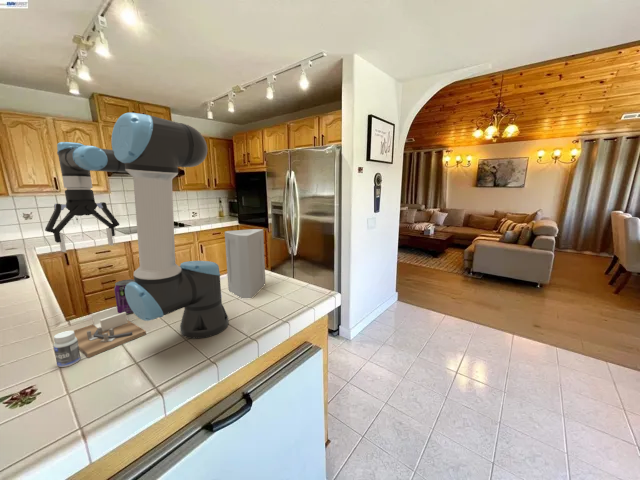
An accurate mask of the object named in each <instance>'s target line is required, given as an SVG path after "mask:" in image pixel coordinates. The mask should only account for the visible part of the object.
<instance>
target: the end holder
mask: <svg viewBox="0 0 640 480" xmlns="http://www.w3.org/2000/svg"><path fill="white" fill-rule="evenodd" d="M127 315H128V314H126V312H123V313H118V311H117V306H113V307H110V308H106V309H104V310H100V311H97V312H93V313H91V320H92V324H93V325H94V326H95V327H97V328H99V327H101V328H102V332H105V331H108V330H109V329H113V328H116V327H119V326H122V325H124V324H127V323H128V322H127V320H128V316H127Z"/></svg>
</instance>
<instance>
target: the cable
mask: <svg viewBox="0 0 640 480" xmlns="http://www.w3.org/2000/svg"><path fill="white" fill-rule="evenodd" d="M131 335H132V332H129V333H123V334H118V335H113V336H108V337H109V339H111V338H115V339H116V338H121V337H126V336H131ZM93 336H94V337H97V338H98V339H104V337H103V335H98V329H97V330H96V332H95V333H94V335H93Z"/></svg>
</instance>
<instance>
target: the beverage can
mask: <svg viewBox="0 0 640 480" xmlns="http://www.w3.org/2000/svg"><path fill="white" fill-rule="evenodd" d="M130 282H134V279H132V278H130V279H122V280H118V281H116V282H115V283H114V284H115V286H114V287H113V289H114V297H115V302H116V307H117V311H118V314H120V313H123V312H126V315H129V314H134V312H133V311H132V310H131V308H130V306H129V304H128V302H127V299H126V296H125V287H126V285H127V284H128V283H130Z"/></svg>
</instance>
